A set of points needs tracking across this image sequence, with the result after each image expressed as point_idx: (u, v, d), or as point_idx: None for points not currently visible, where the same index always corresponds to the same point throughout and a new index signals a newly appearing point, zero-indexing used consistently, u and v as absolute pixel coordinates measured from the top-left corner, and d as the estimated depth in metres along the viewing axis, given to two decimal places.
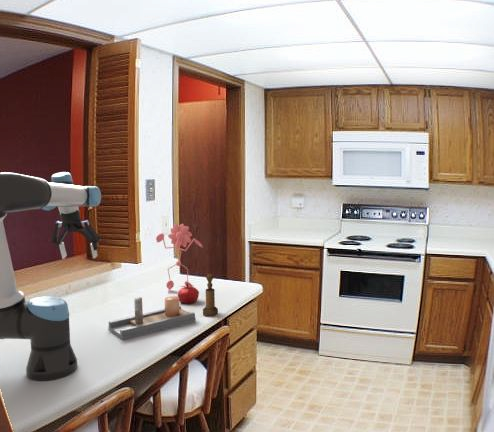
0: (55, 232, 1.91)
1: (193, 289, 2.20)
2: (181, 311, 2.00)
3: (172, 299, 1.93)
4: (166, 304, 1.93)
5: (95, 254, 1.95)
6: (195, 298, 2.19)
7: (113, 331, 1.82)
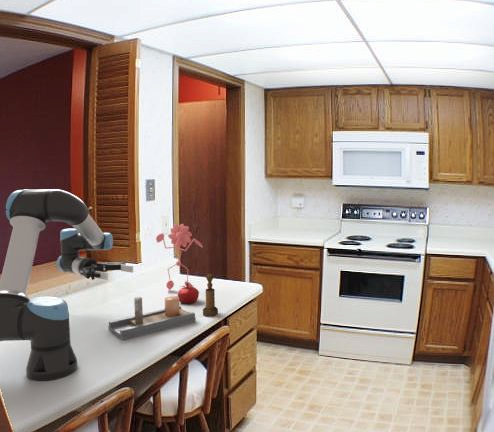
0: (85, 269, 1.90)
1: (193, 289, 2.20)
2: (181, 311, 2.00)
3: (172, 299, 1.93)
4: (166, 304, 1.93)
5: None
6: (195, 298, 2.19)
7: (113, 331, 1.82)
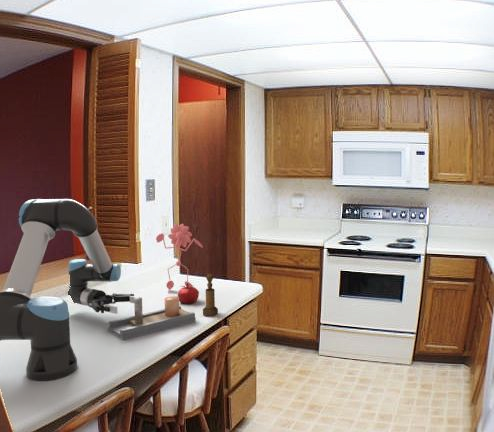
0: (94, 303, 1.89)
1: (193, 289, 2.20)
2: (181, 311, 2.00)
3: (172, 299, 1.93)
4: (166, 304, 1.93)
5: None
6: (195, 298, 2.19)
7: (113, 331, 1.82)
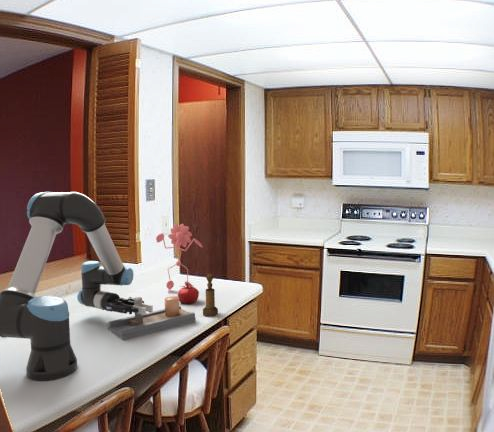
0: (116, 305, 1.85)
1: (193, 289, 2.20)
2: (181, 311, 2.00)
3: (172, 299, 1.93)
4: (166, 304, 1.93)
5: None
6: (195, 298, 2.19)
7: (113, 331, 1.82)
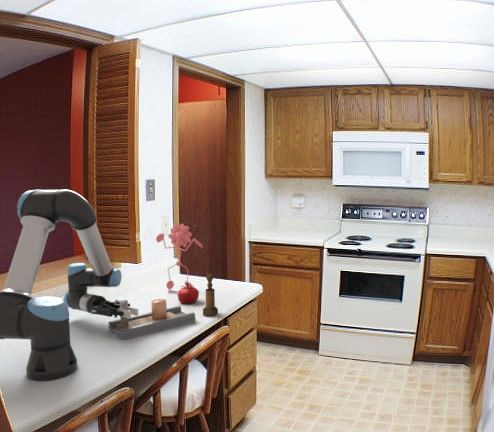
0: (101, 308, 1.82)
1: (193, 289, 2.20)
2: (168, 314, 1.96)
3: (159, 302, 1.90)
4: (153, 307, 1.89)
5: None
6: (195, 298, 2.19)
7: (113, 331, 1.82)
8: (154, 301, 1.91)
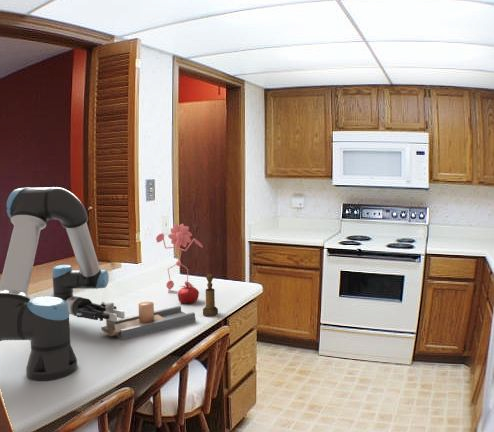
0: (86, 311, 1.78)
1: (193, 289, 2.20)
2: (156, 317, 1.93)
3: (146, 305, 1.86)
4: (140, 310, 1.86)
5: None
6: (195, 298, 2.19)
7: None
8: (141, 304, 1.87)
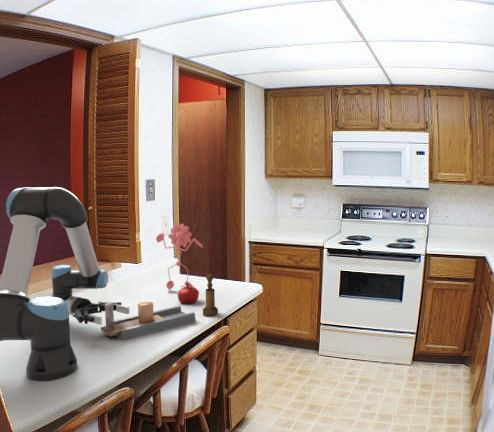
0: (77, 312, 1.77)
1: (193, 289, 2.20)
2: (156, 317, 1.92)
3: (145, 305, 1.86)
4: (139, 310, 1.86)
5: None
6: (195, 298, 2.19)
7: None
8: (141, 304, 1.87)
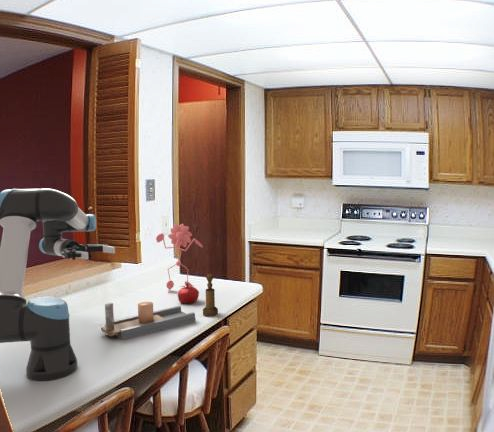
0: (66, 250, 1.89)
1: (193, 289, 2.20)
2: (156, 317, 1.92)
3: (145, 305, 1.86)
4: (139, 310, 1.86)
5: None
6: (195, 298, 2.19)
7: None
8: (140, 304, 1.87)
